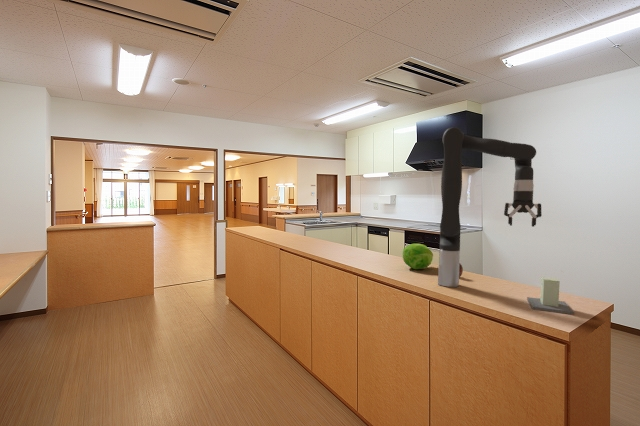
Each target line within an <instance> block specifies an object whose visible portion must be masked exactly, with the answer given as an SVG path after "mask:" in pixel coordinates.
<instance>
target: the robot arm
mask: <svg viewBox="0 0 640 426" xmlns="http://www.w3.org/2000/svg"><path fill="white" fill-rule="evenodd" d="M441 138H442V139H441V140H442V141H441V142H442V144H443V155H444V156H443V163H442V170H441V181H440V183H441V184H440V190H441V191H440V192H441V193H440V194H441V203H442V206H441V207H442V208H441V209H442V211H441V220H440V224H439V229H440V230H439V252H438V253H439V257H438V267H437V268H438V270H437V272H438V273H437V275H438V277H437V286H438V285H439V286H443V287H448V288H449V287H450V288H457V287H459V285H460V277H459V263H460V257H461V256H460V254H461V252H460V251H461V219H460V202H461V197H462V191H463V167H462V150H465V151H466V150H467V151H473V152H479V153H483V154H485V155H491V156H497V157H501V158H512V159H514V168H515V172H514V183H513V196H512V197H513V199H512V203H511V202H505V203H504V211H503V212H504V213H503V215H504V216H506V217H507V218H508V219H507V220H508V221H507V224H508V225H509V227H510V226H513V216H514V215H515V214H516V213H525V214H527V213H529V215H530V216H531V217H532V218H531V227H535V226H536V225H537V219H538V218H541V217H542V204H541V203H539V202H538V203H534V201H533V200H534V186H535V185H534V168H533V167H532V160H533V159H534V158H535V157H536V155H537V149H536V148H535V146H533V145H531V144H527V143H520V142H509V141H507V140H506V141H505V140H500V139H496V138H483V137H482V138H481V137H475V136H469V135H466V134H464V132H463V131H462V130H461V129H460V128H459V127H456V126H452V127H449V128H447V129H446V130H445V131H444V132H443V135H442V137H441ZM511 207H512V208H513V210H511V212H510V213H509V208H511ZM534 207H535V209H536V214H535V212H534V211H533V210H532V209H533V208H534Z"/></svg>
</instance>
